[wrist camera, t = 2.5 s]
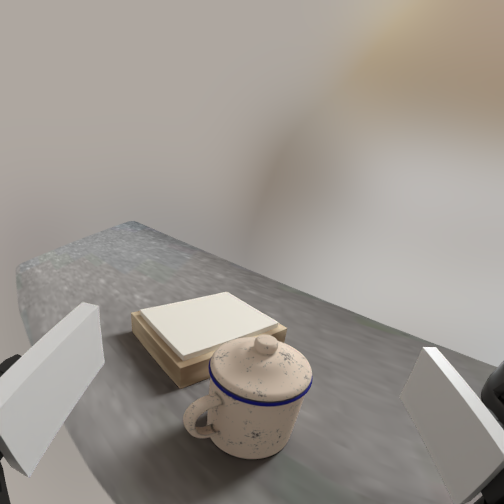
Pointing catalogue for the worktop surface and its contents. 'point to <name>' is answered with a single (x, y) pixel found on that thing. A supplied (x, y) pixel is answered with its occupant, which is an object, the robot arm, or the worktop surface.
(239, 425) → the teacup with lid
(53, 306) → the worktop surface
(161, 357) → the oak tea stand
